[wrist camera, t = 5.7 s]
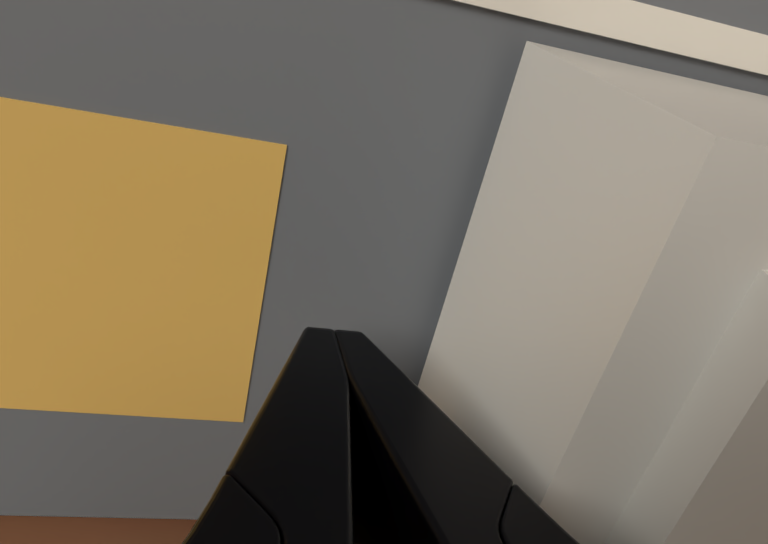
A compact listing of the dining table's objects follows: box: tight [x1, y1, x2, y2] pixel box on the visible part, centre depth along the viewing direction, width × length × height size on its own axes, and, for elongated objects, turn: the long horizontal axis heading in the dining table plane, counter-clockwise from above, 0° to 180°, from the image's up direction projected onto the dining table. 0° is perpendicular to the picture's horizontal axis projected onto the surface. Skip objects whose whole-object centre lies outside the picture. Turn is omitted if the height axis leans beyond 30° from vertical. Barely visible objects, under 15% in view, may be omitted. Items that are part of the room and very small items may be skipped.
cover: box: [418, 41, 768, 544], centre depth 9 cm, size 9×7×5 cm
